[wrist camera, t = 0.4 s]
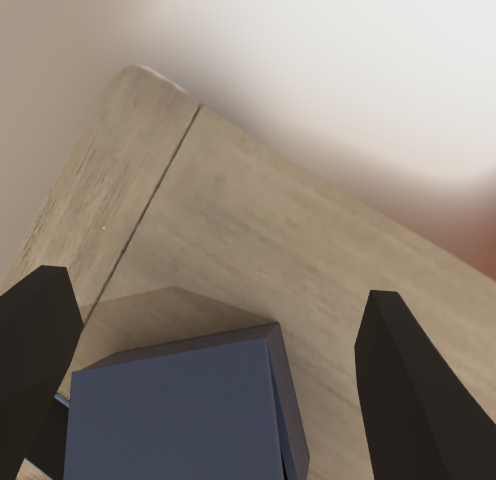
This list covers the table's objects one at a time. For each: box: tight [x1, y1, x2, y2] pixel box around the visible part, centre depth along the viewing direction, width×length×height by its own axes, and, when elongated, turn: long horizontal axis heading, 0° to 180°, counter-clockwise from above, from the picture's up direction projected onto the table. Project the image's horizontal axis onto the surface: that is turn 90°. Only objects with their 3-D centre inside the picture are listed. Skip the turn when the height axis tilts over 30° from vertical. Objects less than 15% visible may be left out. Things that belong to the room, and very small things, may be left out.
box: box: [80, 322, 310, 480], centre depth 35 cm, size 12×16×6 cm
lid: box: [63, 337, 284, 480], centre depth 30 cm, size 12×16×1 cm
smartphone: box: [25, 393, 70, 480], centre depth 41 cm, size 7×1×15 cm
